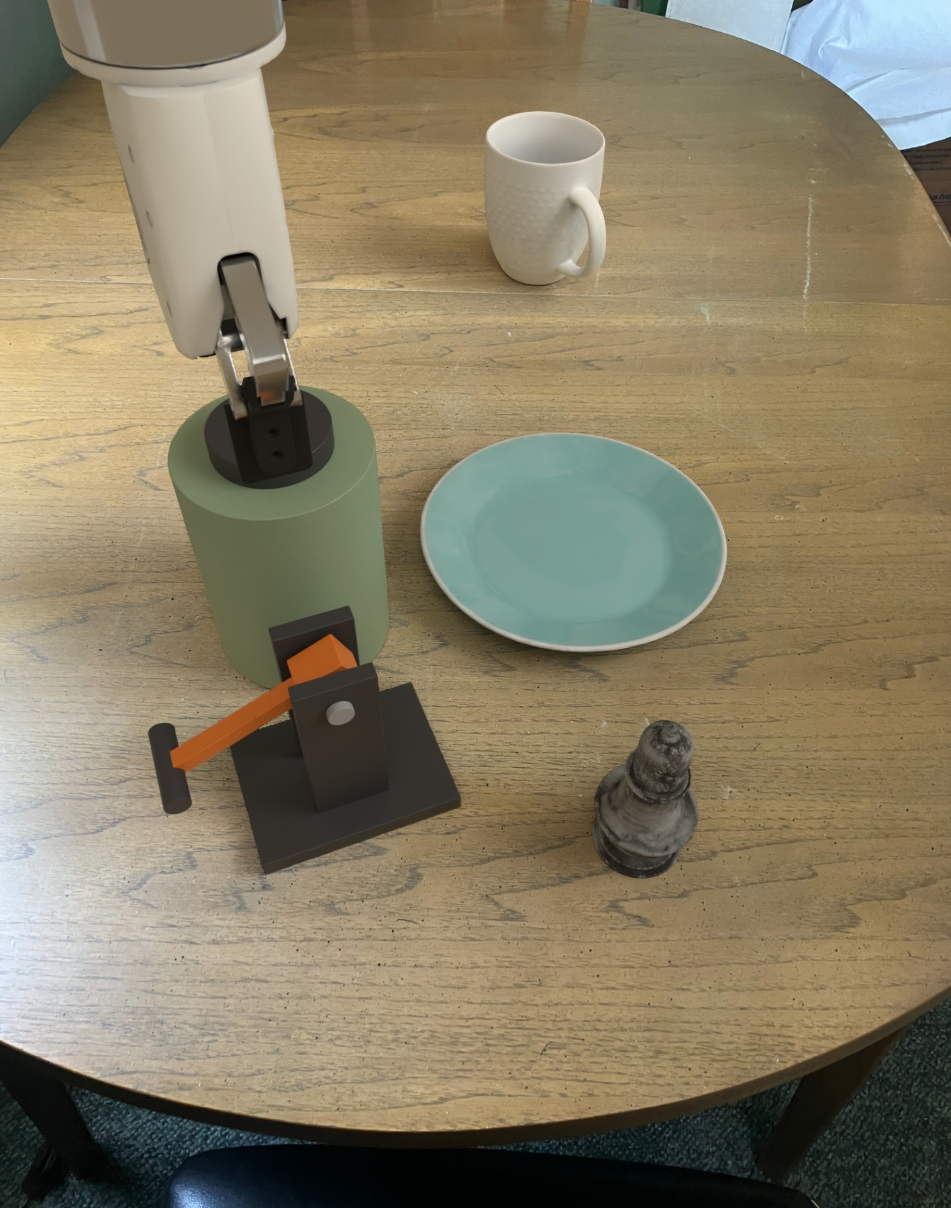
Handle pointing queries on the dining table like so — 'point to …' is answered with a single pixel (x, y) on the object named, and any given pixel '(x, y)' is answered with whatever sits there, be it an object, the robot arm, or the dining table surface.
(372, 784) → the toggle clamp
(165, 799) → the orange pivot lever
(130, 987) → the dining table surface
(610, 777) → the chess piece
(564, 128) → the mug
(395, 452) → the dining table surface
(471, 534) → the plate
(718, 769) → the dining table surface
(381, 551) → the green canister
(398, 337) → the dining table surface
